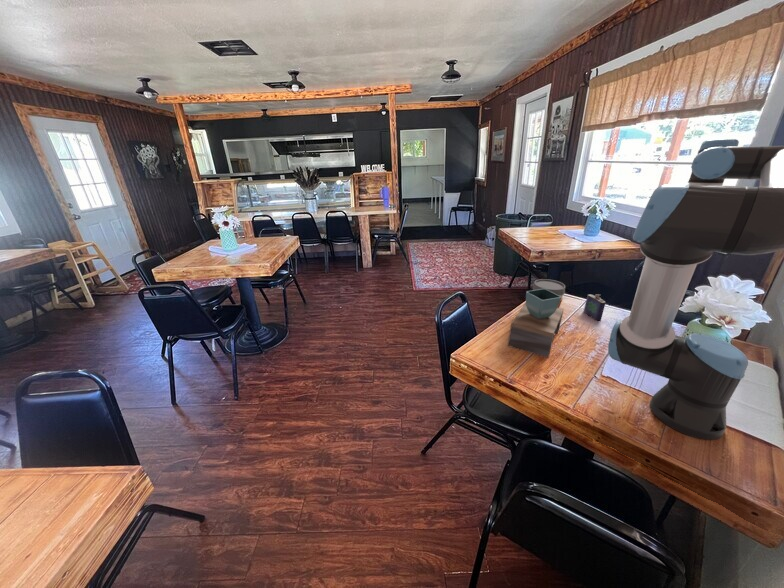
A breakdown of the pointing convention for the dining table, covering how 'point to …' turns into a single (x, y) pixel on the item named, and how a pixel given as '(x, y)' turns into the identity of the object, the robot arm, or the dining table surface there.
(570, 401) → the dining table surface
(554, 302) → the flower pot
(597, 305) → the flask
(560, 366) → the dining table surface
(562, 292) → the reusable coffee cup
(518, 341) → the grey wooden block
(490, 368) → the dining table surface
